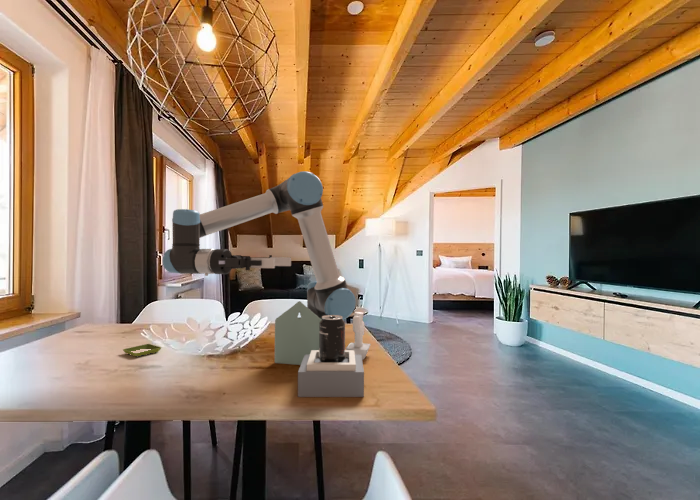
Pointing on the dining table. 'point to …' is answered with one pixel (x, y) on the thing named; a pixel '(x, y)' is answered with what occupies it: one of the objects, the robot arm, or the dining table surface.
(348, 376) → the stand
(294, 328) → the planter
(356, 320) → the figurine
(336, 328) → the beverage can
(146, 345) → the green shallow square tray
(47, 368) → the dining table surface
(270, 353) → the dining table surface
